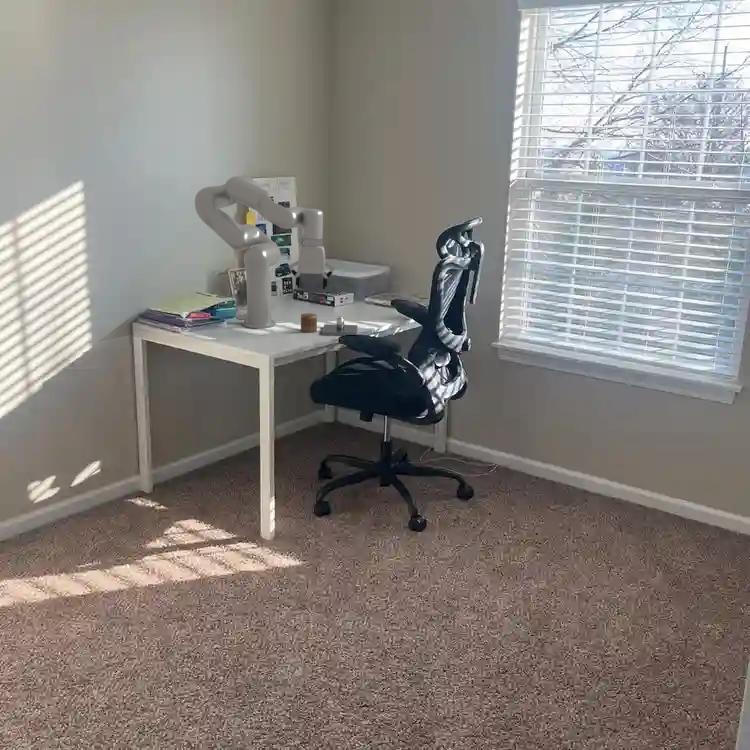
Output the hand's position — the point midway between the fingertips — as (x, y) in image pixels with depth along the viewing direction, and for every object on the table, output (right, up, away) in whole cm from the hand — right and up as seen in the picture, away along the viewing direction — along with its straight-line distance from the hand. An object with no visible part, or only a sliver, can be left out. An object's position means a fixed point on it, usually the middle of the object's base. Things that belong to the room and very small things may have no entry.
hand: (311, 288), depth 312 cm
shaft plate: (+11, -16, +4) cm, 20 cm away
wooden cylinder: (-1, -16, +4) cm, 17 cm away
